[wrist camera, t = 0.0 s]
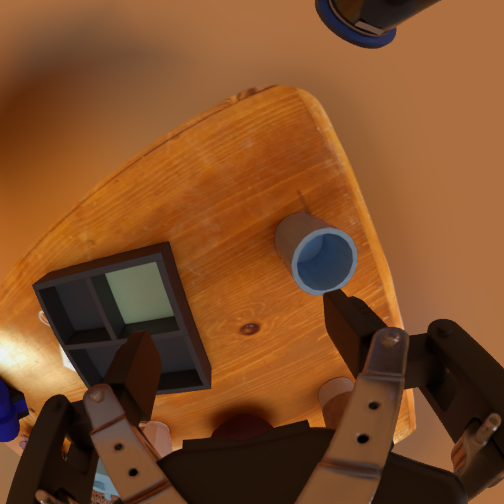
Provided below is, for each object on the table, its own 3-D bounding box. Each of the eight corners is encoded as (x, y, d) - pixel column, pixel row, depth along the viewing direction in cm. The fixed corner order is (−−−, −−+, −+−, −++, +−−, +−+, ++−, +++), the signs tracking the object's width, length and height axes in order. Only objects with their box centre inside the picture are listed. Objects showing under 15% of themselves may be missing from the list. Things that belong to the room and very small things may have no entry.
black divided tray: (48, 272, 27) (31, 285, 24) (168, 240, 28) (160, 252, 24) (101, 379, 33) (93, 397, 29) (211, 367, 34) (211, 388, 30)
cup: (175, 440, 39) (172, 475, 31) (122, 427, 37) (114, 460, 29) (179, 421, 37) (176, 459, 29) (121, 406, 35) (110, 443, 27)
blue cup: (269, 218, 29) (286, 236, 21) (322, 207, 29) (354, 221, 21) (278, 269, 30) (296, 302, 23) (328, 258, 31) (358, 285, 23)
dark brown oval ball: (284, 400, 37) (299, 452, 27) (264, 443, 41) (272, 487, 31) (213, 396, 36) (213, 452, 26) (204, 439, 39) (204, 486, 29)
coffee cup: (300, 403, 38) (325, 478, 24) (329, 366, 36) (369, 444, 22) (338, 408, 40) (369, 473, 26) (367, 374, 38) (409, 440, 24)
